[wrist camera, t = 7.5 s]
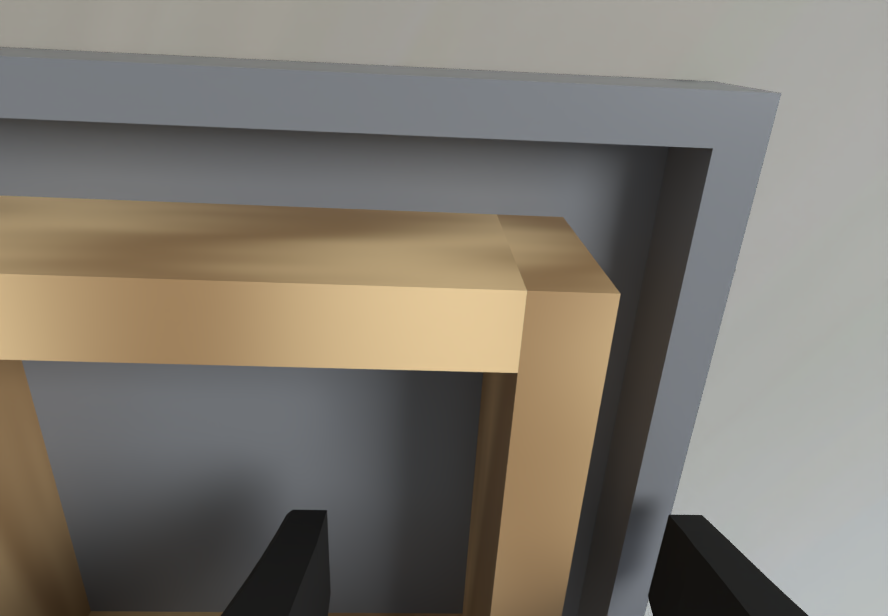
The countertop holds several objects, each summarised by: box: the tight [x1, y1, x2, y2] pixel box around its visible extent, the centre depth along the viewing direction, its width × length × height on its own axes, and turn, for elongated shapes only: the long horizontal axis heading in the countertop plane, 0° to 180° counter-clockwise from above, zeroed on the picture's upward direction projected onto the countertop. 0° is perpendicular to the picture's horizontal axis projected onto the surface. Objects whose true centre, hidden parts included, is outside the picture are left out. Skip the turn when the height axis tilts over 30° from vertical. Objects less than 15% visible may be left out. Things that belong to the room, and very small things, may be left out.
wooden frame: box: [0, 196, 621, 616], centre depth 11 cm, size 11×11×5 cm
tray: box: [0, 47, 781, 616], centre depth 13 cm, size 16×16×2 cm
